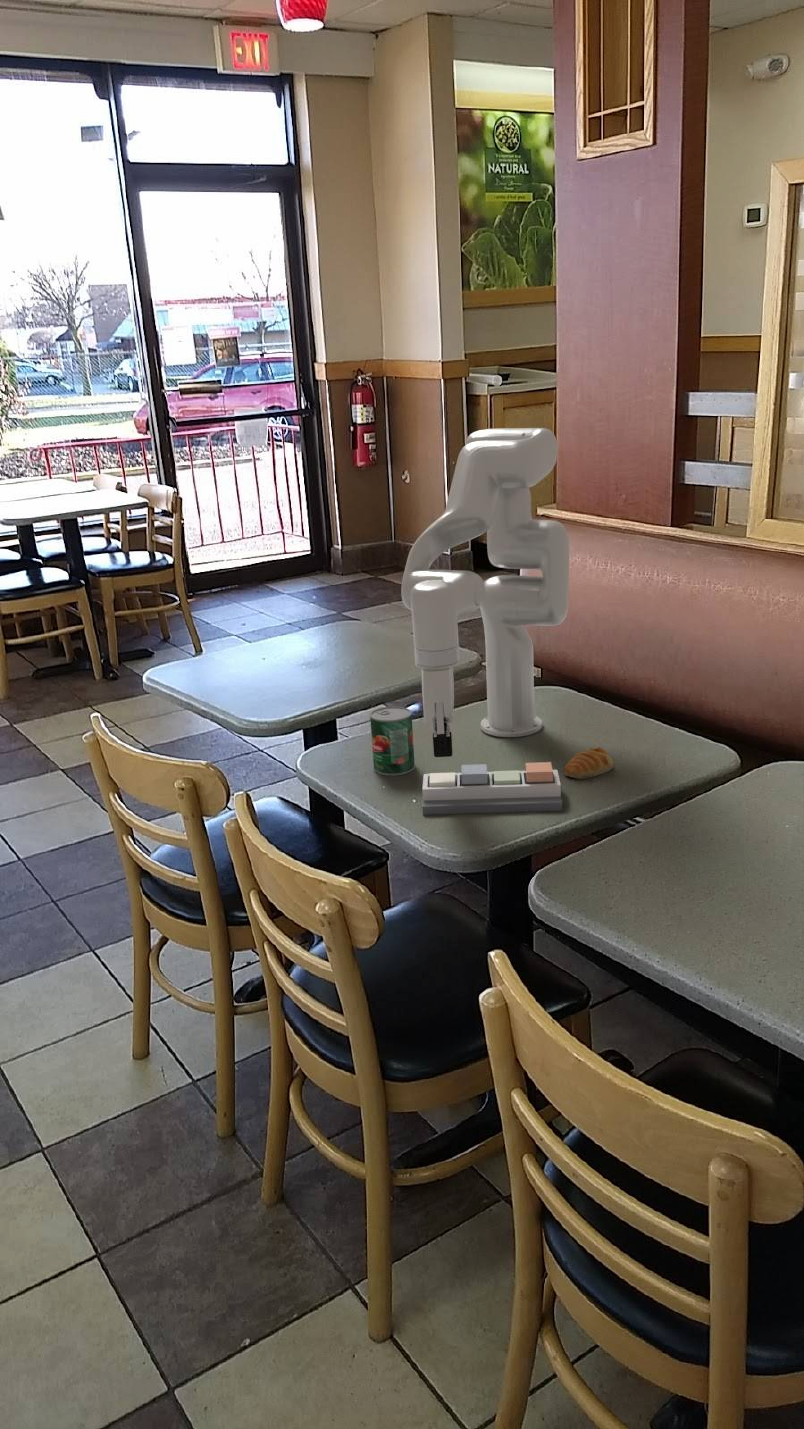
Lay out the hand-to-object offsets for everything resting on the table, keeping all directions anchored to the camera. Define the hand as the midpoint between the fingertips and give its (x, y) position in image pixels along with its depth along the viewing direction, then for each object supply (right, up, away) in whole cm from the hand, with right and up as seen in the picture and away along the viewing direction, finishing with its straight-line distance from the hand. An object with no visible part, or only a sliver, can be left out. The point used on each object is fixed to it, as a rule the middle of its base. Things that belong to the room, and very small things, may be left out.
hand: (443, 754), depth 192 cm
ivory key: (0, -6, +1) cm, 6 cm away
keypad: (+8, -8, +1) cm, 12 cm away
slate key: (+5, -4, 0) cm, 7 cm away
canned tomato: (-9, -3, +18) cm, 20 cm away
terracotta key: (+17, -4, -1) cm, 17 cm away
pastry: (+27, -4, +11) cm, 30 cm away
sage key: (+11, -5, 0) cm, 12 cm away
